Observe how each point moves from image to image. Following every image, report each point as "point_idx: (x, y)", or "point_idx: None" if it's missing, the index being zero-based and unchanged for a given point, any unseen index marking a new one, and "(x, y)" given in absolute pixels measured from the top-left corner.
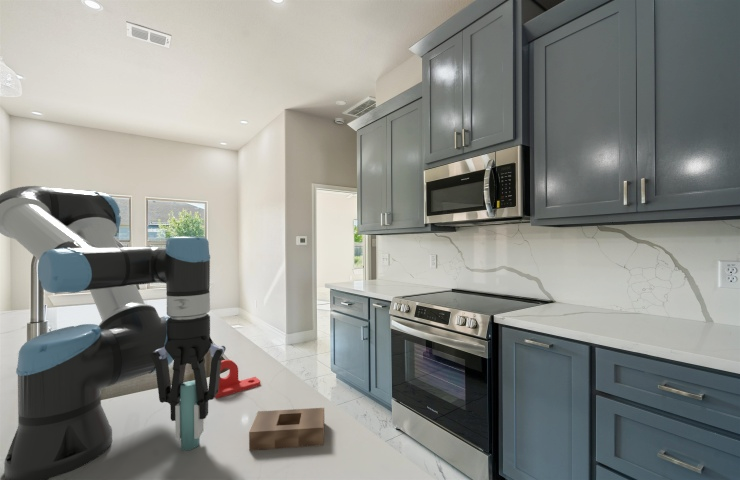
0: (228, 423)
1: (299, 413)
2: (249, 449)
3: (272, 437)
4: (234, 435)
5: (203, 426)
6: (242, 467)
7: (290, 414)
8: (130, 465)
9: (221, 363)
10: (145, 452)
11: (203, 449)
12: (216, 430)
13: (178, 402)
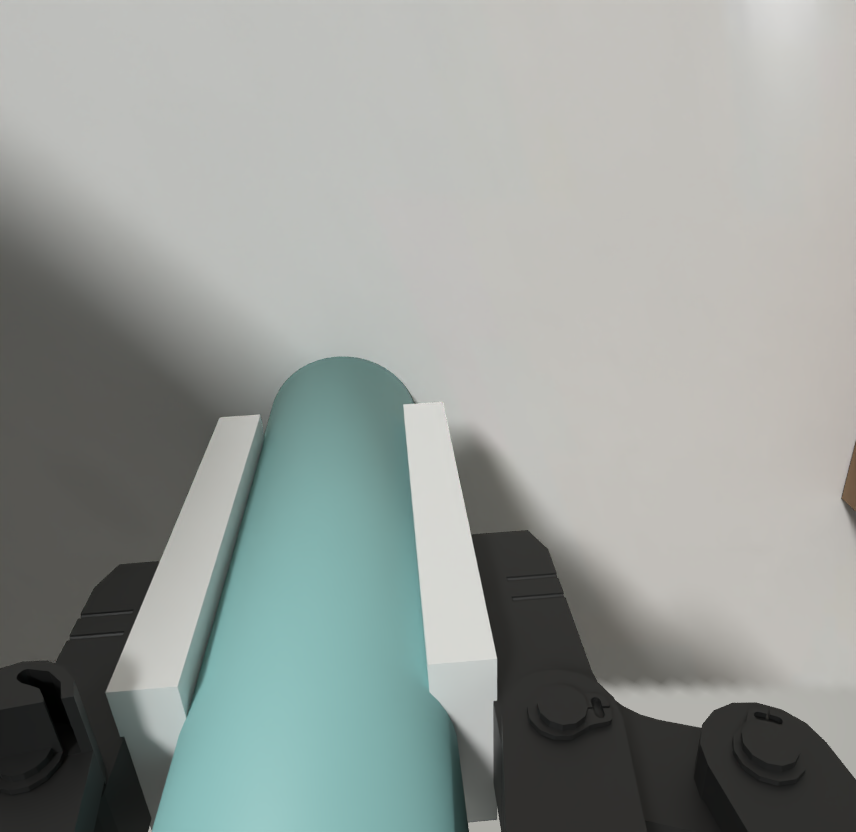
0: (586, 19)
1: None
2: (848, 503)
3: None
4: (698, 285)
5: (447, 424)
6: (802, 645)
7: None
8: (30, 628)
9: None
10: (10, 499)
11: (482, 474)
12: (492, 178)
13: (135, 786)
